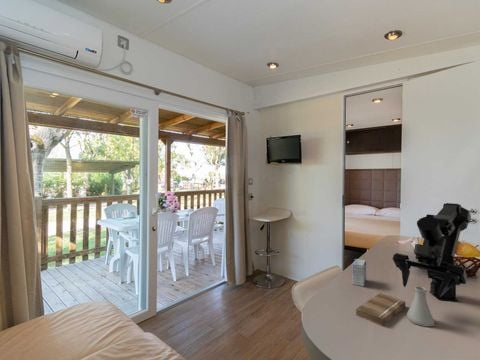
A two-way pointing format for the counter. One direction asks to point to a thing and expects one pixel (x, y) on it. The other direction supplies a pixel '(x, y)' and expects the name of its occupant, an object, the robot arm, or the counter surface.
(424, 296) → the flask
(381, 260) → the counter surface
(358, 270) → the medicine box
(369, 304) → the walnut board
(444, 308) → the counter surface
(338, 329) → the counter surface
